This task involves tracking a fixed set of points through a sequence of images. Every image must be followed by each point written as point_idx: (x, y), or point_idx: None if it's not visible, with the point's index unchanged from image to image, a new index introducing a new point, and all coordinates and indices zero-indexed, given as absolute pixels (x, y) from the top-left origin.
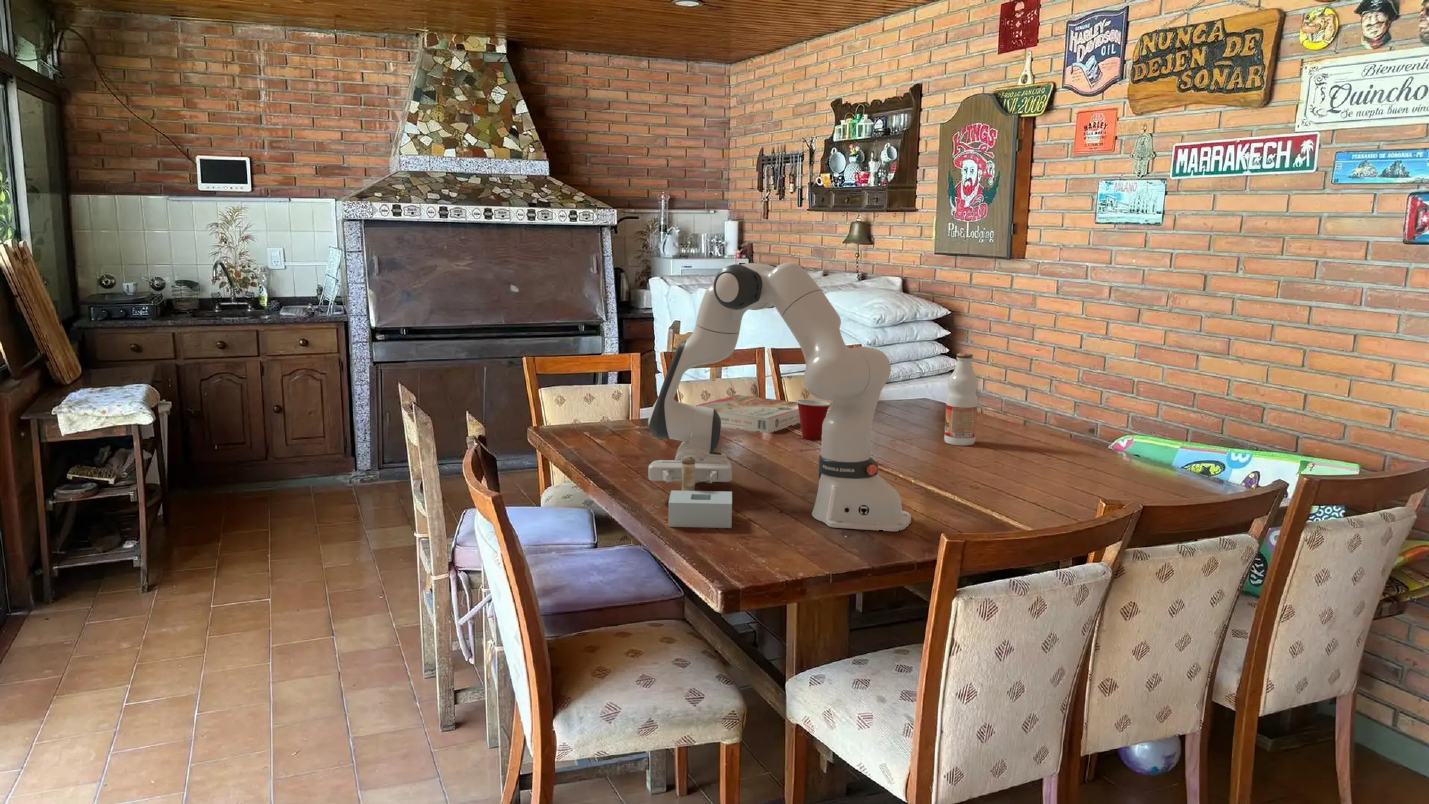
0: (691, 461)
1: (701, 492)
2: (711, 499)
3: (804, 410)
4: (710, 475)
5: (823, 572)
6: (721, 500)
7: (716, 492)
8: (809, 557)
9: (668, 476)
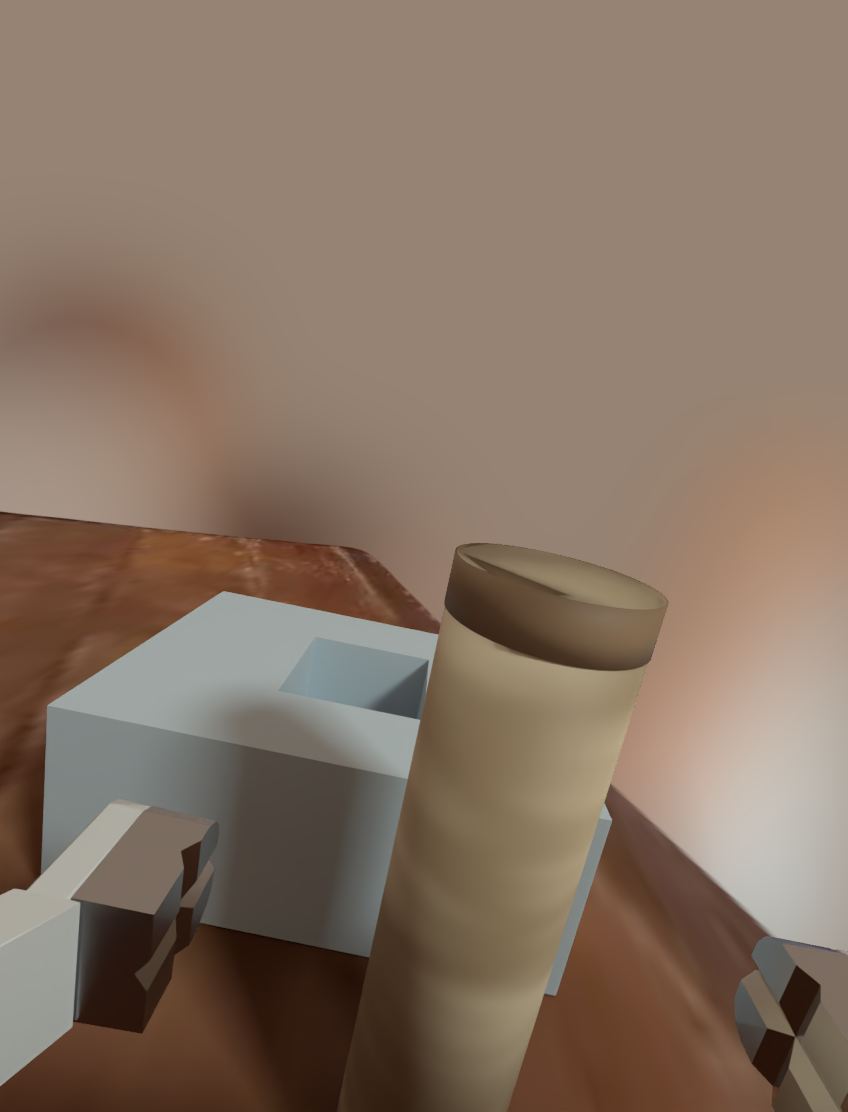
0: (498, 550)
1: (339, 734)
2: (306, 639)
3: None
4: (124, 823)
5: (155, 531)
6: (254, 621)
7: (208, 713)
8: (121, 554)
9: (818, 946)
